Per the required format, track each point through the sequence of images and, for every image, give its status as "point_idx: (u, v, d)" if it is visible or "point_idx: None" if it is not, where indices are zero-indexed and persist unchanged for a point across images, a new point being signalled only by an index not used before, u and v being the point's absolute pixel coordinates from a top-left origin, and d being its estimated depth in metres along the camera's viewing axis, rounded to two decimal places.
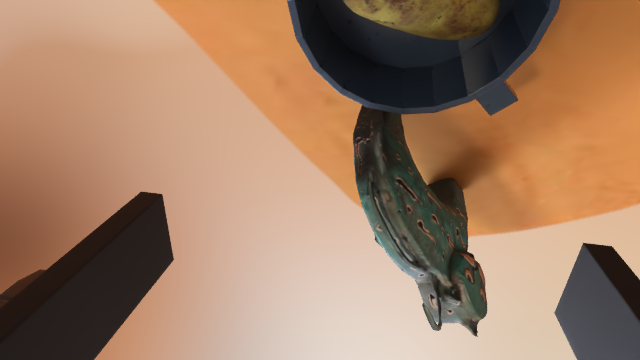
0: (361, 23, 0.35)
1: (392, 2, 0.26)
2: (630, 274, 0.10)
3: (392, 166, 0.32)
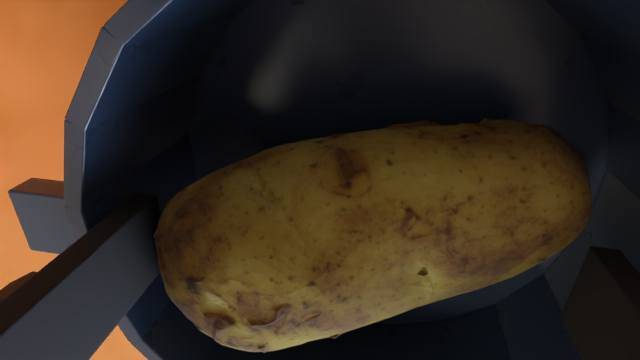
0: None
1: (267, 326, 0.11)
2: (638, 277, 0.10)
3: None
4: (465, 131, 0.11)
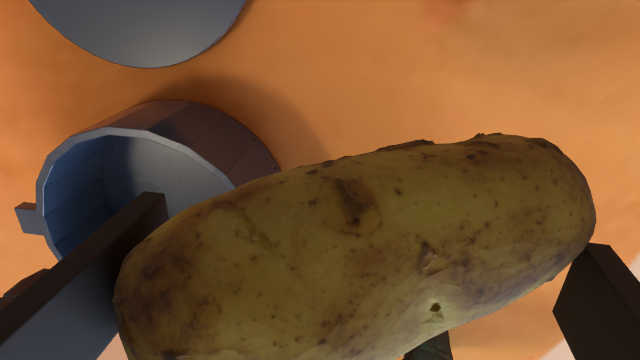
0: None
1: None
2: (627, 272, 0.10)
3: None
4: (469, 151, 0.10)
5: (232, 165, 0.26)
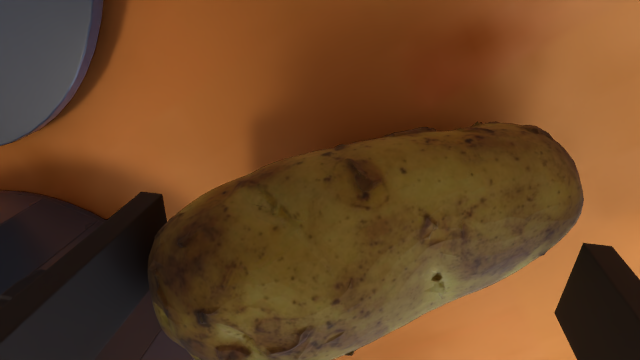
0: None
1: (287, 352, 0.10)
2: (630, 274, 0.10)
3: None
4: (467, 136, 0.11)
5: None
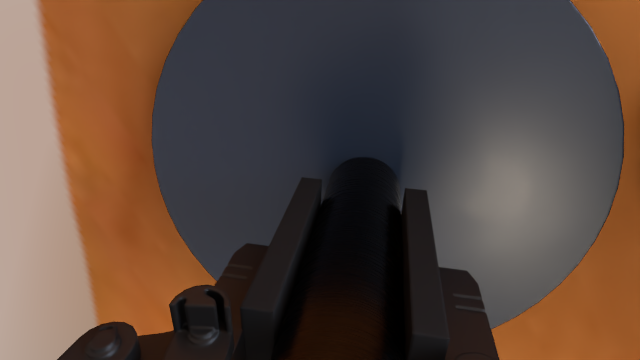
0: None
1: None
2: (428, 208, 0.13)
3: None
4: None
5: None
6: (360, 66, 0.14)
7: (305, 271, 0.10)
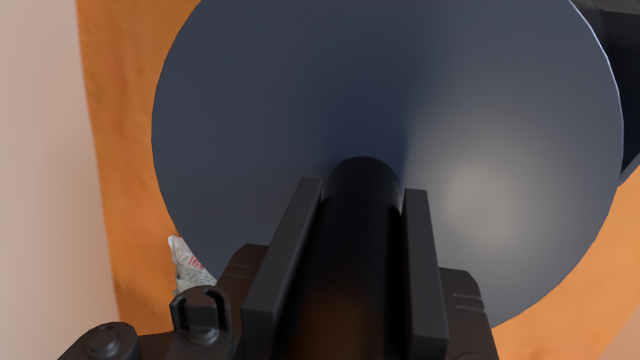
0: None
1: None
2: (428, 208, 0.13)
3: None
4: None
5: None
6: (360, 65, 0.14)
7: (305, 270, 0.10)
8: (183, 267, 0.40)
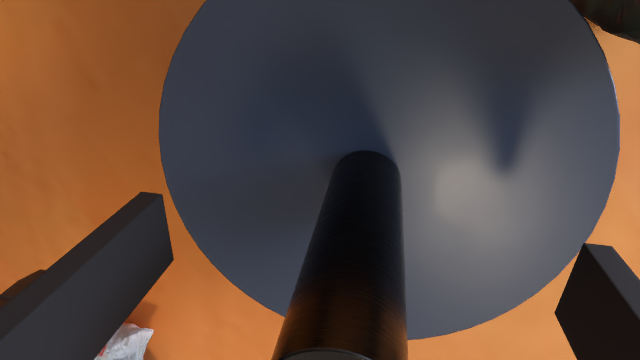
0: None
1: None
2: (630, 274, 0.10)
3: None
4: None
5: None
6: (363, 61, 0.15)
7: (311, 257, 0.11)
8: None
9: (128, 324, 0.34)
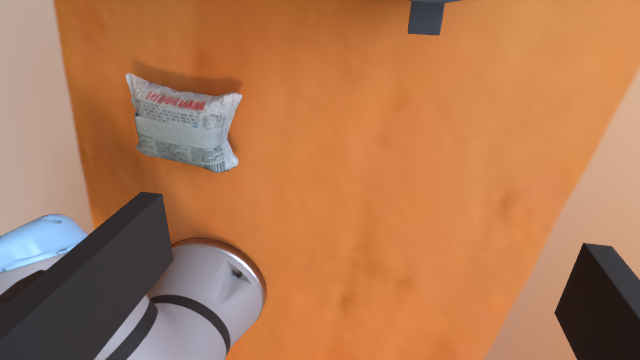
0: None
1: None
2: (630, 274, 0.10)
3: None
4: None
5: None
6: None
7: None
8: (140, 103, 0.39)
9: None
